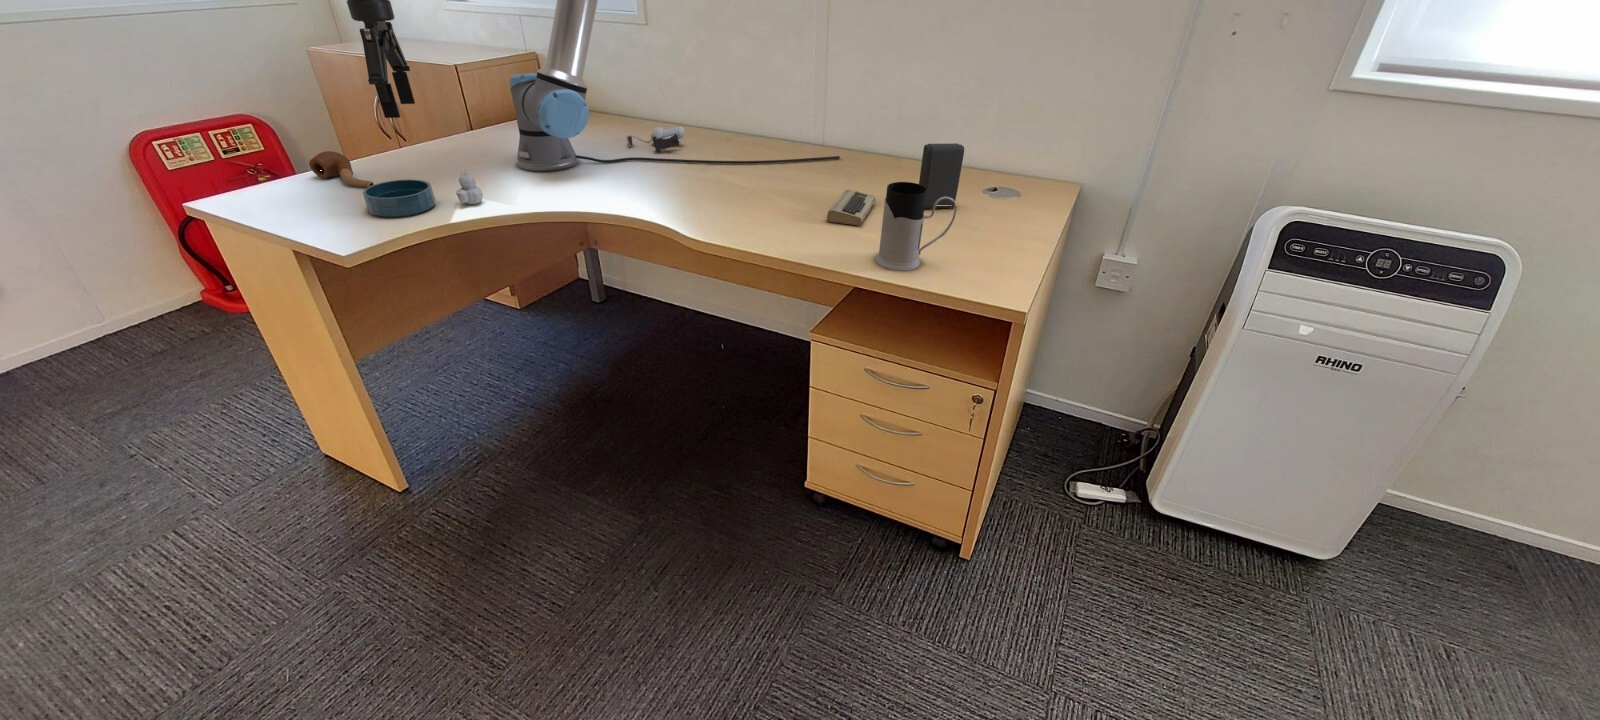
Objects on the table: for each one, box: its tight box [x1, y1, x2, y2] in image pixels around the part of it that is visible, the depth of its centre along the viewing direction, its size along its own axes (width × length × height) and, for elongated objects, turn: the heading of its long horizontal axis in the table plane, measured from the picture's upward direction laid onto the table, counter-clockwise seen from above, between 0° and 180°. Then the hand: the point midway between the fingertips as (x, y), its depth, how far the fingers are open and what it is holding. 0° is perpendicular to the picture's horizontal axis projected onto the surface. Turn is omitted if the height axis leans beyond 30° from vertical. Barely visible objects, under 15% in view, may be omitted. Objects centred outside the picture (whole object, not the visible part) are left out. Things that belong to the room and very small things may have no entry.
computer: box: [826, 189, 876, 227], centre depth 150 cm, size 16×8×3 cm, turn 163°
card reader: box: [918, 142, 965, 210], centre depth 153 cm, size 9×4×15 cm, turn 100°
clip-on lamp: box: [626, 126, 686, 154], centre depth 192 cm, size 12×6×18 cm
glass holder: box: [875, 181, 958, 272], centre depth 125 cm, size 9×14×15 cm, turn 85°
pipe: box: [308, 150, 375, 188], centre depth 157 cm, size 7×19×6 cm, turn 65°
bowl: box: [362, 178, 437, 218], centre depth 143 cm, size 13×13×4 cm
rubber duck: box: [455, 168, 484, 205], centre depth 145 cm, size 5×7×8 cm
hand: (400, 110), depth 138 cm, fingers open, 13 cm apart
